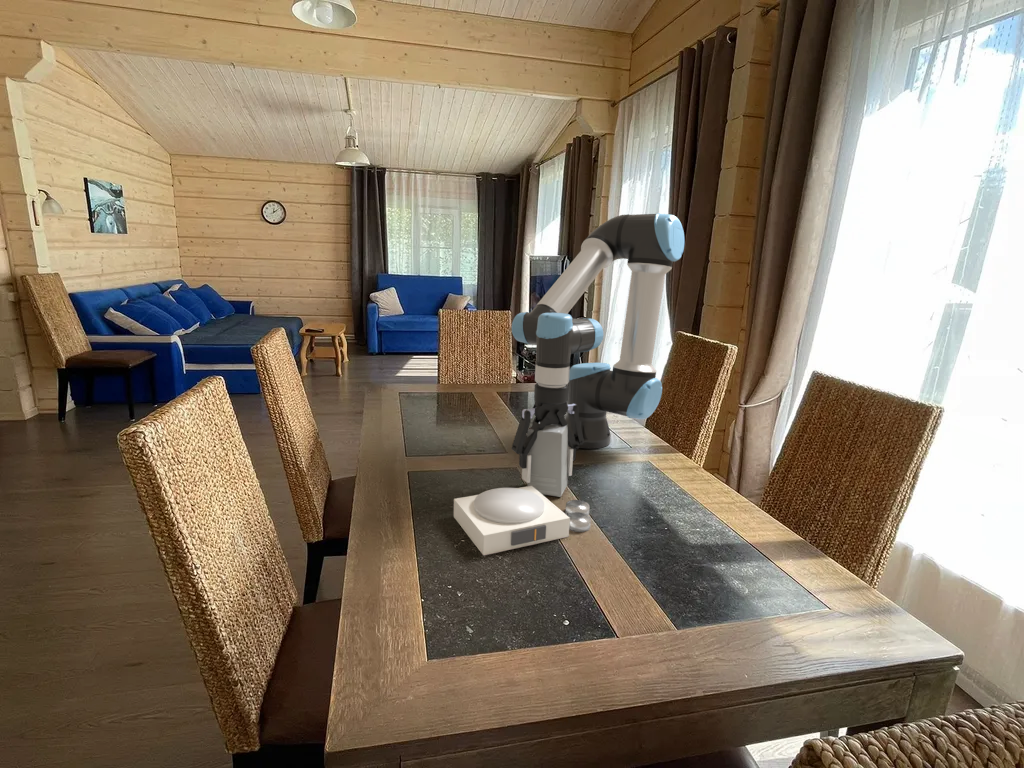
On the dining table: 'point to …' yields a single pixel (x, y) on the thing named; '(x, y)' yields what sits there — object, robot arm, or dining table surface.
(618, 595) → the dining table surface
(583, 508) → the spacer
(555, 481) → the skincare box
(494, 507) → the scale
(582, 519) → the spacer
